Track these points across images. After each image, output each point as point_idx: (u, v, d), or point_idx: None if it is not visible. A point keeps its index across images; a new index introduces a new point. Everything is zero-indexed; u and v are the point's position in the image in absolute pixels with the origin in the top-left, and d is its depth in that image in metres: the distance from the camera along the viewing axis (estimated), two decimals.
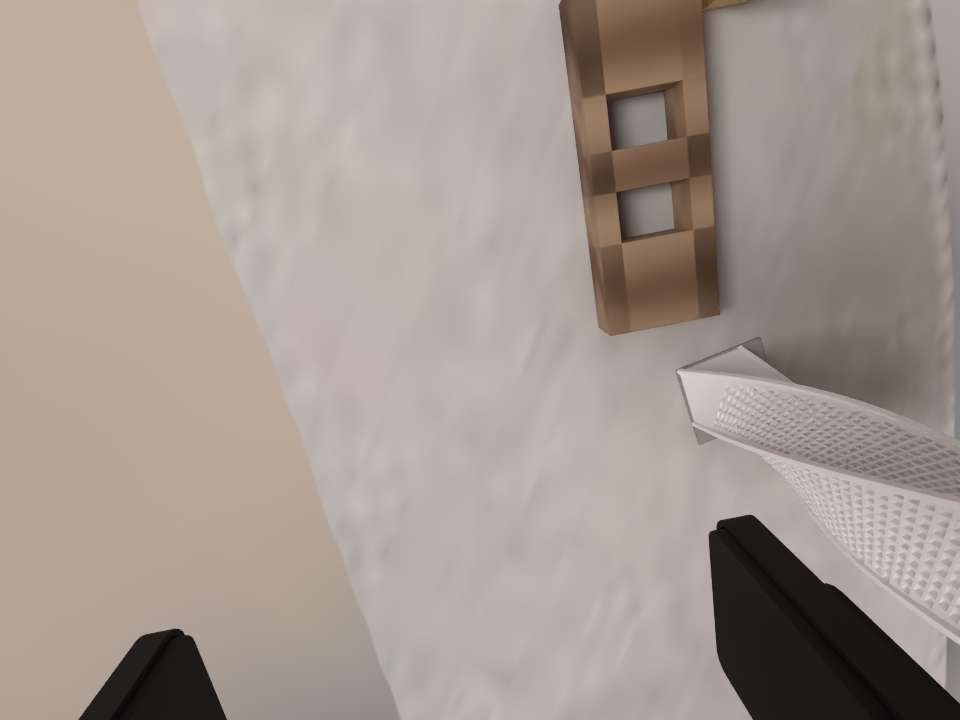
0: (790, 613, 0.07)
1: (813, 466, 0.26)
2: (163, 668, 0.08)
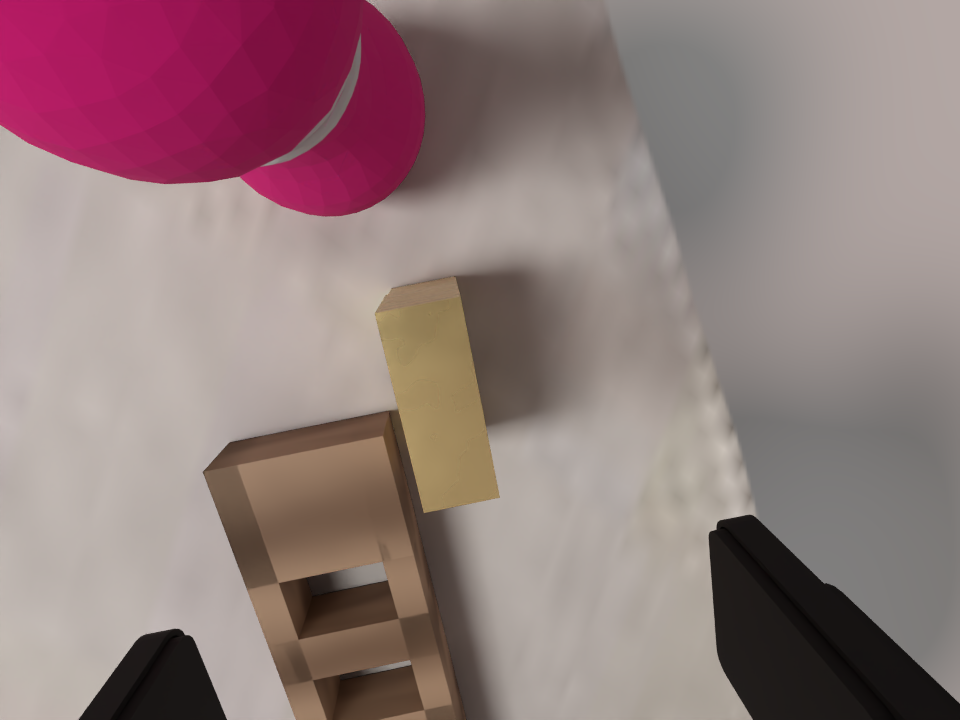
0: (790, 613, 0.07)
1: None
2: (163, 668, 0.08)
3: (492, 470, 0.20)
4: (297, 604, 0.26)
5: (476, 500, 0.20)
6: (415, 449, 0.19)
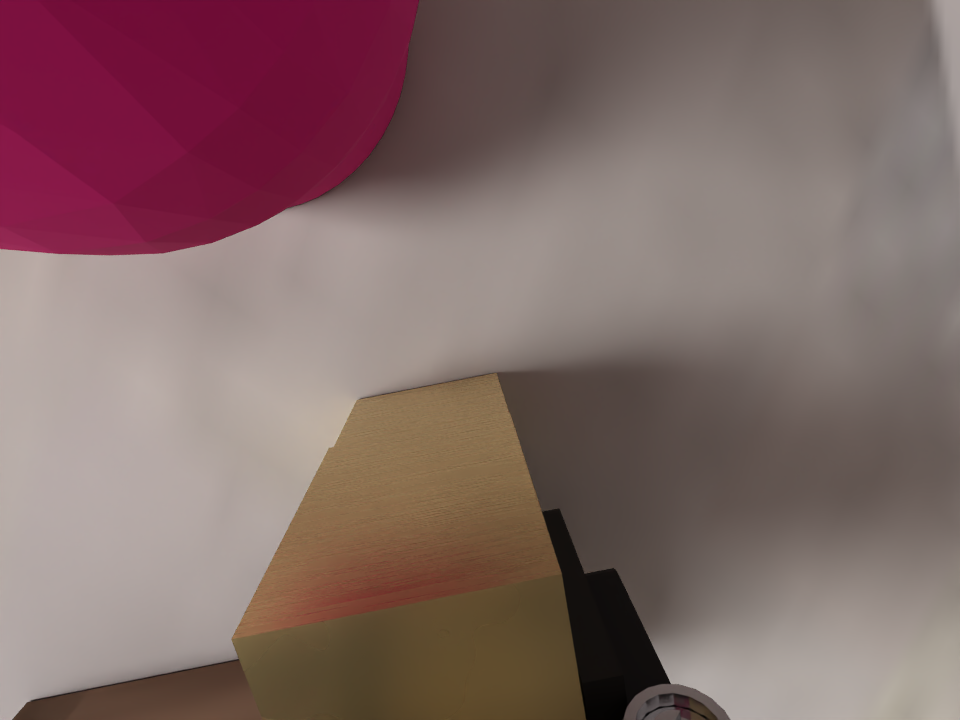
0: None
1: None
2: None
3: None
4: None
5: None
6: None
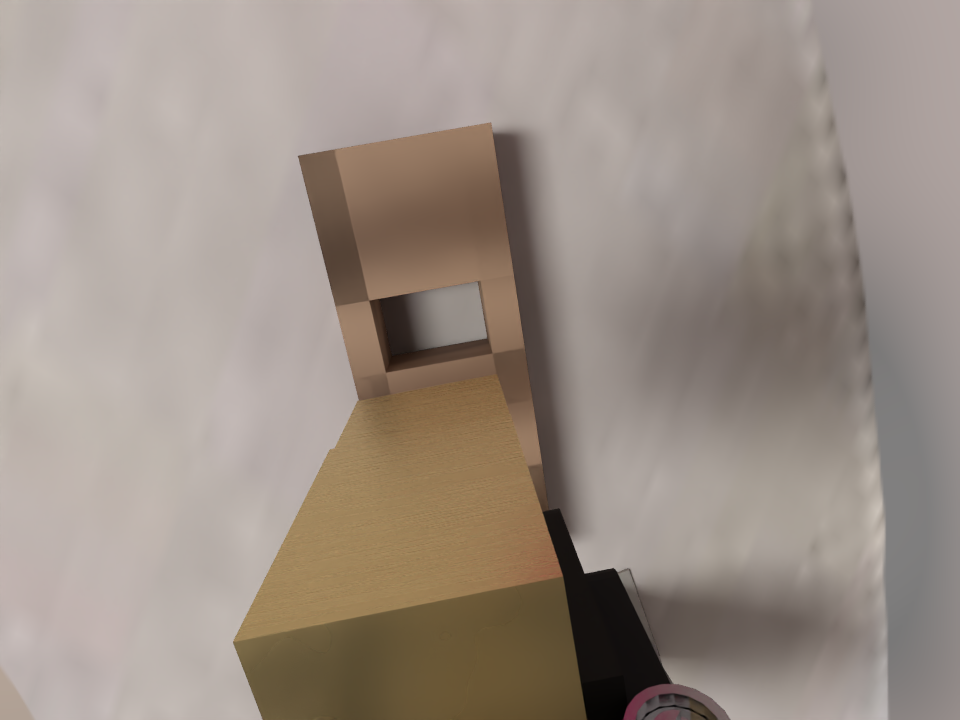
0: None
1: None
2: None
3: None
4: (382, 342, 0.25)
5: None
6: None
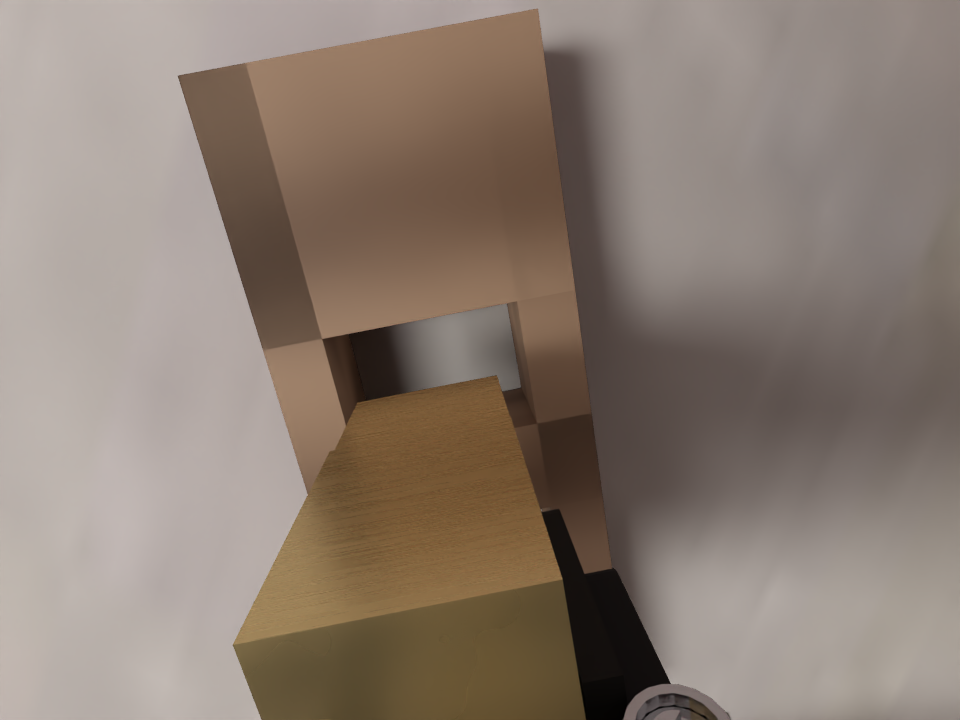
0: None
1: None
2: None
3: None
4: (351, 405, 0.15)
5: None
6: None
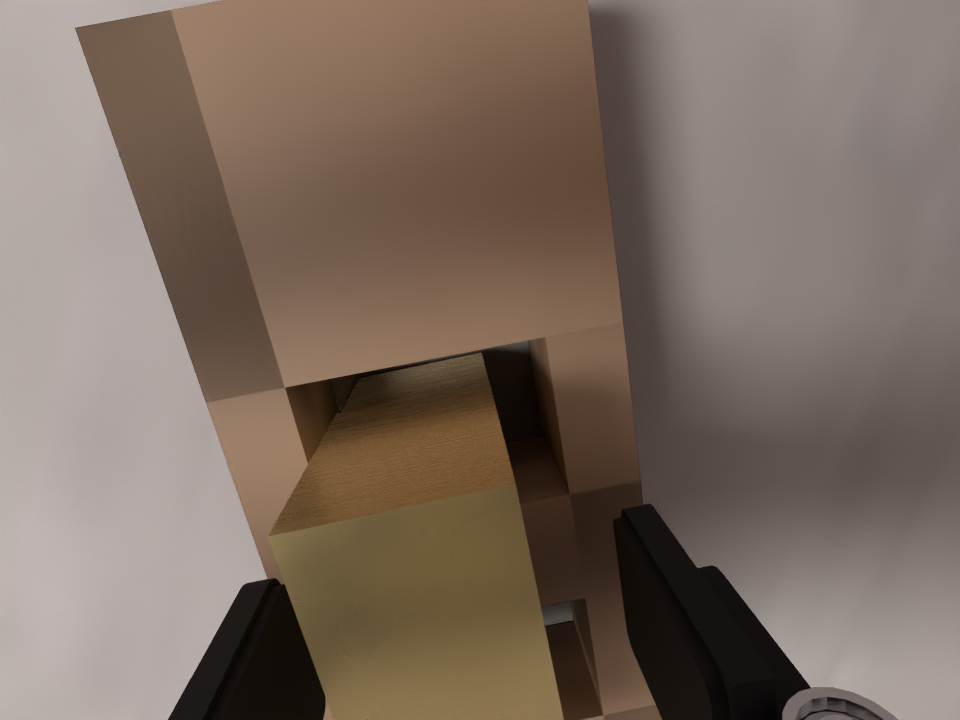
0: (660, 589, 0.08)
1: None
2: (271, 610, 0.09)
3: None
4: None
5: None
6: None
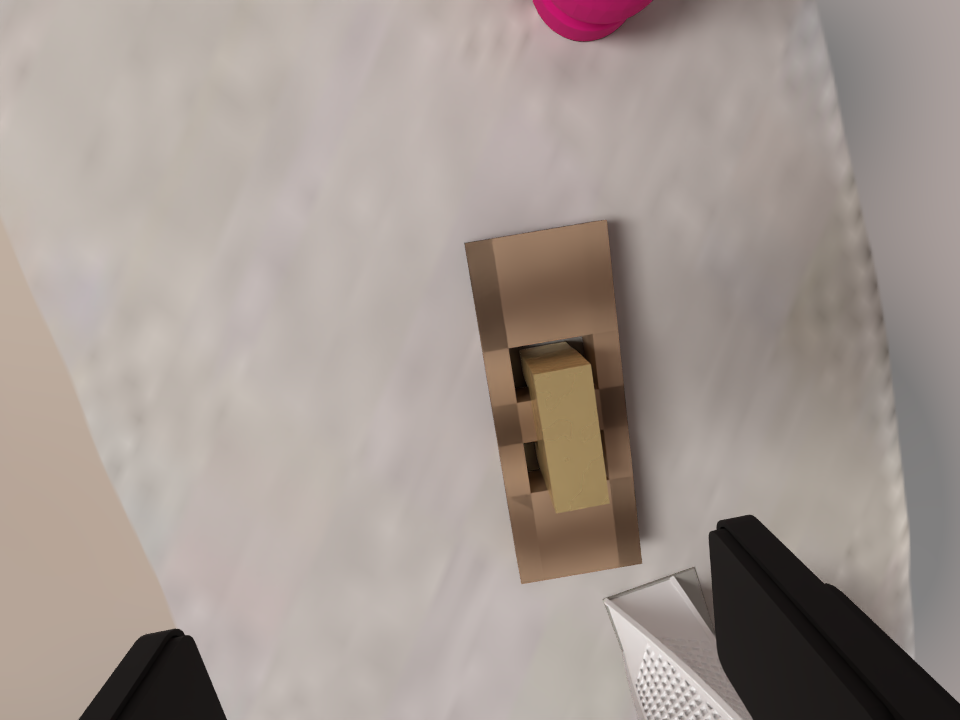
0: (790, 613, 0.07)
1: None
2: (163, 668, 0.08)
3: (605, 483, 0.28)
4: None
5: (593, 505, 0.29)
6: (553, 467, 0.28)
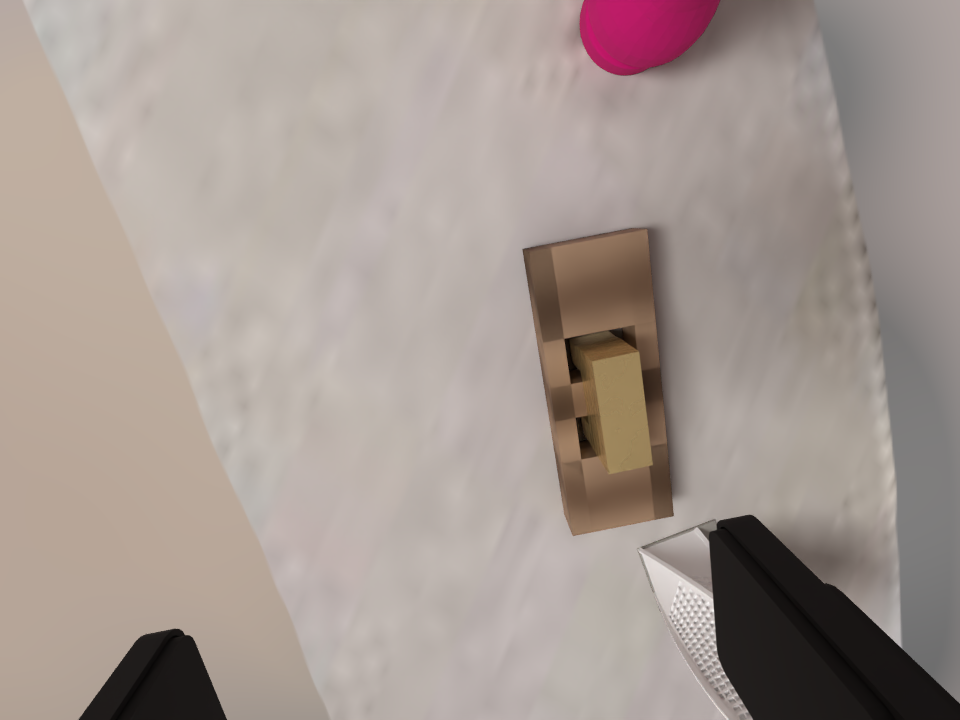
0: (790, 613, 0.07)
1: None
2: (163, 668, 0.08)
3: (649, 449, 0.34)
4: None
5: (639, 466, 0.35)
6: (607, 437, 0.34)
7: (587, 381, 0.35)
